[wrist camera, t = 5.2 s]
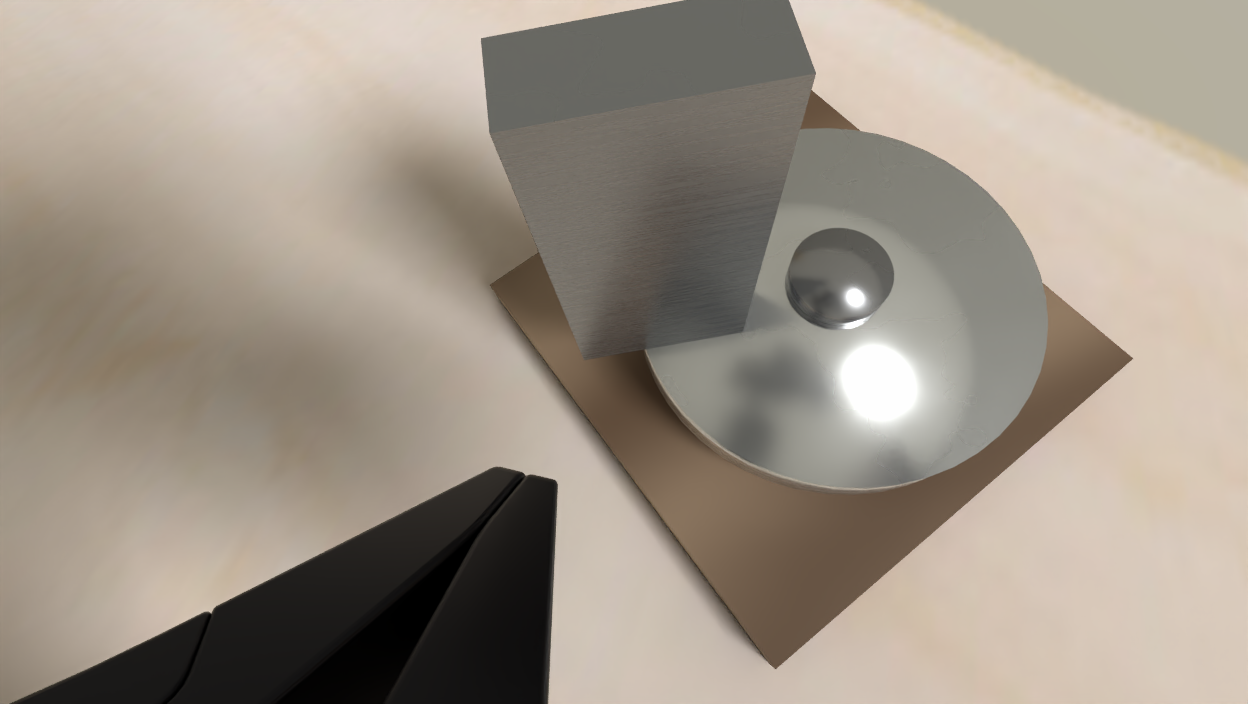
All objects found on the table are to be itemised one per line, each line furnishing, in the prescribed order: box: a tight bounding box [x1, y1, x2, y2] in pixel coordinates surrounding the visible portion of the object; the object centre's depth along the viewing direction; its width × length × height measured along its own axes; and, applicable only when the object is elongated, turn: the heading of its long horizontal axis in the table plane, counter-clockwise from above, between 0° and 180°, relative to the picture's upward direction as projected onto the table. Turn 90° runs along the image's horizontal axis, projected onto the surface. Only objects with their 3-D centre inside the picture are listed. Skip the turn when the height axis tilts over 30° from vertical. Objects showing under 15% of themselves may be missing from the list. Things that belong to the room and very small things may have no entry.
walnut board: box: [490, 90, 1133, 669], centre depth 16 cm, size 13×13×5 cm
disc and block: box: [481, 0, 1048, 495], centre depth 12 cm, size 12×10×9 cm
